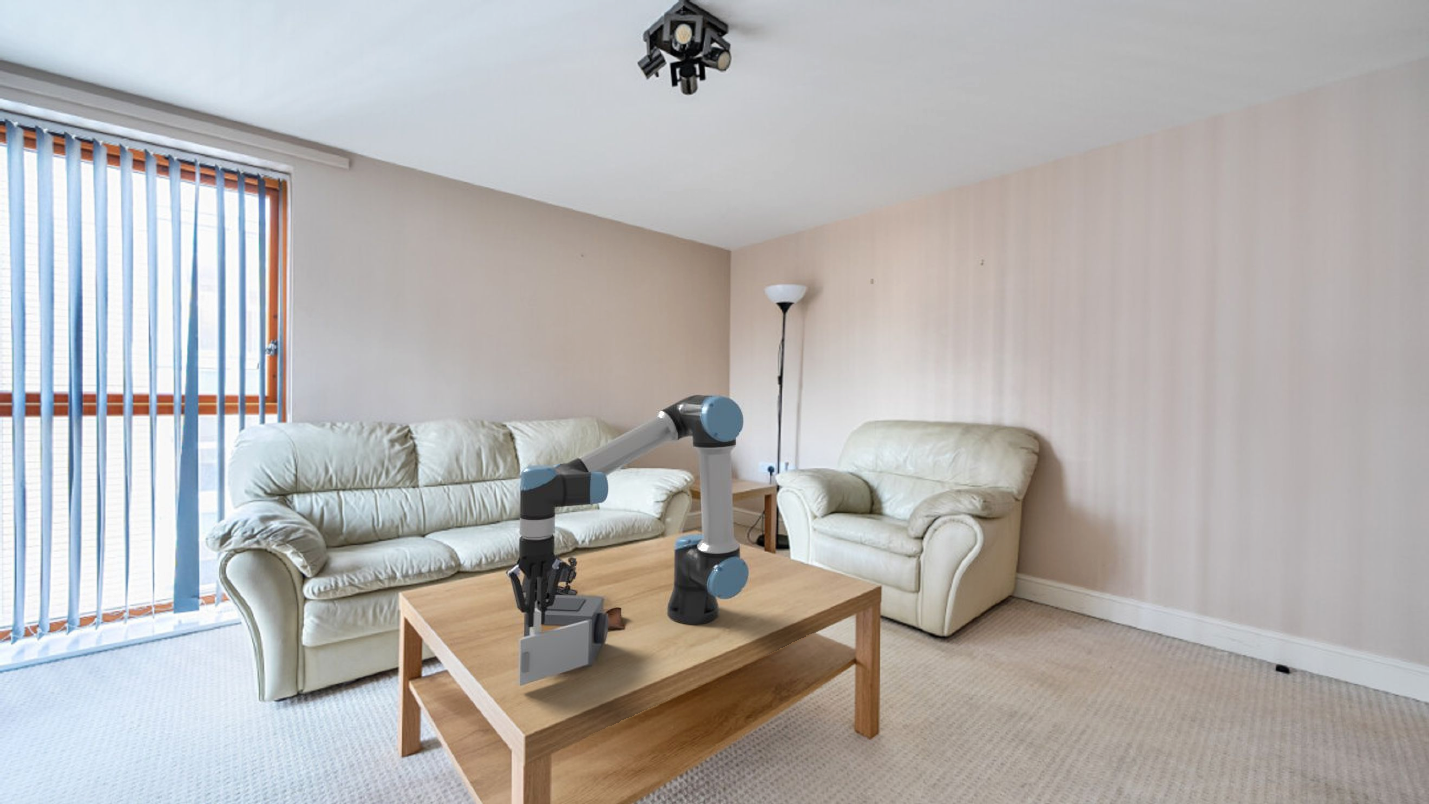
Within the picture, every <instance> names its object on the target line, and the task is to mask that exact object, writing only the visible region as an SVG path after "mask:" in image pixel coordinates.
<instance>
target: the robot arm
mask: <svg viewBox="0 0 1429 804" xmlns="http://www.w3.org/2000/svg"><path fill="white" fill-rule="evenodd" d="M743 427H744V415H743V411H742V409H741V407H740V406H739V405H738V404H737V403H736V401H734V399H732V398H730V397H728V396H721V395H718V394H717V395H716V394H714V395H707V394H706V395H702V394H695V395H690V396H687V397H685V398H682V399H681V400H679V401H677V402H675V403H673V404H672V405H669V406H668V407H665V408H664V409H662V410H660V411H658V412H657V414H656V417H654V418H652V419H650V420H648V421H645V422H644V423H643V424H641V425H639V426H636V427H635V428H632V429H631V430H629V431H627V432H625V433H623V434H622V435H621V434H620V435H619V436H618V437H615V438H613V439H611V440H609V441H608V442H606V443H604V444H601V445H600V446H598V447H597V448H594V449H592V450H590V451H589V452H586V453H585V454H582V455H581V456H579V457H576V458H575V459H573V460H570V461H569V462H565V463H564V462H563V463H558V464H555V465H554V466H553V465H548V464H546V465H542V464H541V465H540V464H537V465H529V466H526V467H524V468H522V470H521V473H520V485H519V535H520V537H519V539H518V541H519V542H518V547H519V548H518V555H519V556H518V559H517V561H516V565H515V566H514V567H513V568H512V569H510V568H509V569H507V570H506V572H505V574H506V575H507V576H508V578H509V579H510V582H511V585H512V590H513V595H514V599H515V603H516V607H517V610H519V612H521V613H522V614H525V613H526V625H527V626H528V627H529V628H530V635H533V634H537V633H541V624H544V622H545V612H546V611H547V607H549V606H552V605H553V604H554V600H555V596H556V592H557V588H558V586H559V583H560V582H559V579H560V575H561V572H562V570H563V569H564V567H565V563H564V562H565V561H564V562H562V561H563V560H562V561H561V560H557V559H556V556H557V555H556V554H555V542H556V541H555V539H556V538H555V535H554V534H555V532H556V531H555V530H556V508H564V507H574V506H575V507H577V506H593V505H597V504H602V503H604V502H606V500H607V498H608V494H609V482H608V477H607V475H609V474H611V473H612V472H615V471H616V470H618V469H620V468H622V467H623V466H626V465H627V464H629V463H631V462H633V461H635V460H636V459H638V458H640V457H642V456H644V455H646V454H648V453H650V452H652V451H653V450H654V449H657V448H658V447H660V446H662V445H664V444H666V443H668V442H672V443H675V442H677V441H680V439H684V438H688V437H692V448H694V449H695V451H697V452H698V459H699V460H698V461H699V464H698V465H699V484H700V487H699V488H700V489H699V490H700V506H701V507H700V510H701V512H700V513H701V532H702V533H693V534H685V535H680V536H679V537H677V538H676V540H675V542H674V549H673V551H674V558H673V559H674V562H673V563H674V564H673V565H674V567H673V568H674V569H673V573H674V574H673V588H672V589H673V590H672V591H671V595H670V597H669V600H668V604H667V609H666V610H667V612H666V615H667V616H668V618H669V619H671V620H672V621H675V622H677V623H680V624H686V625H700V624H701V625H703V624H706V623H710V622H712V621H714V620H716V619H717V618H718V617H719V614H720V613H719V611H720V607H719V603H718V599H721V600H728V599H732V598H734V597H736V596H737V595H739V594H740V593H741V592H742V589H744V588H745V586H746V584H747V583H748V579H749V574H750V573H749V566H748V564H747V562H746V561H745V560H744V559H743V558H741V545H740V542H739V541H737V539H736V538H735V537H734V536H735V535H734V534H735V533H734V508H733V507H734V505H733V480H732V479H733V478H732V476H733V475H732V455H731V454H732V453H731V452H732V450H733V449H734V448H735V447H736V446H737V438H738V437H739V435H740V433H741V432H742V430H743ZM551 567H553V569H552V572H551V576H550V580H549V584H548V588H547V592H546V583H547V577H548V572H549V570H550V568H551ZM520 571H521V573H522V574H523V576H524V575H525V580H526V601H525V599H524V595H523V591H522V587H521V585H522V582H521V580H520V576H521V573H520ZM536 577H537V592H535V583H536ZM717 598H718V599H717ZM536 601H537V607H538V609H537V608H535V602H536Z"/></svg>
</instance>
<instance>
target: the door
mask: <svg viewBox="0 0 1429 804" xmlns="http://www.w3.org/2000/svg"><path fill="white" fill-rule="evenodd" d="M591 644H592V620H590V619H589V620H586V621H582V622H578V623H575V624H571V625H567V626H563V627H559V628H556V629H552V630H548V631H544V632H541V633H537V634H533V635H529V636H526V637H524V636H523V637H519V639H518V681H517V682H518V685H519V687H521V686H525V685H528V684H531V683H534V682H537V681H540V680H543V679H546V678H550V677H552V676H556V675H558V674H559V675H560V674H562V673H565V672H569V671H571V670H574V669H579V668H581V667H585V666H584V665H587V664H591Z"/></svg>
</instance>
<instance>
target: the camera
mask: <svg viewBox="0 0 1429 804" xmlns="http://www.w3.org/2000/svg"><path fill="white" fill-rule="evenodd" d="M555 556H556V559H557V560H561V561H562V562H564V563H565V567H564V569H563V570H562V572H561V575H560V579H559V583H565V586H560V585H558V588H557V592H556V595H572V596H576V594H577V593H578V590H576V589H572V587H571V585H570V584H572V583H573V582H574V580H576V578H577V573H578V572H577V571H576V569H577V565H578V561H577V558H575V557H570V556H569V557H568V558H567V562H568V563H569V564H568V563H567V562H566V561H564V560H562V559H561V558H559V557H558V556H557V555H555ZM552 569H553V567H551V568H550V570H549V572H548V577H547V583H546V592H547V588H548V584H549V580H550V576H551V572H552ZM521 587H522V591H523V595H524V599H525V602H526V580H525V575H524V574H523V579H522V582H521ZM535 593H537V577H536V583H535Z"/></svg>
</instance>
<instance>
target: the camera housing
mask: <svg viewBox="0 0 1429 804" xmlns="http://www.w3.org/2000/svg"><path fill="white" fill-rule="evenodd" d="M604 599H605V597H604V596H594V595H575V596H572V595H556V596H555V600H554V604H553V605H552V606H549V607H547V611H546V612H545V622H544V624H541V632H544V631H548V630H552V629H556V628H559V627H563V626H567V625H571V624H575V623H578V622H582V621H586V620H589V619H590V620H592V644H591V664H587V665H584V666H583V667H586V668H587V667H588V668H590V667H591V666H592V664H593V662H594V661H595V658H596V657H597V655H598V652H599V651H600V649H601V647H602V645H604V644H606V641H607V637H608V634H609V630H608V626H609V617H608V613H603V609H604V603H605V601H604ZM535 608H537V609H538V607H537V600H535ZM523 614H524V617H523V618H524V619H523V637H526V636H529V635H530V628H529V627H528V626H527V625H526V613H523Z"/></svg>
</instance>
